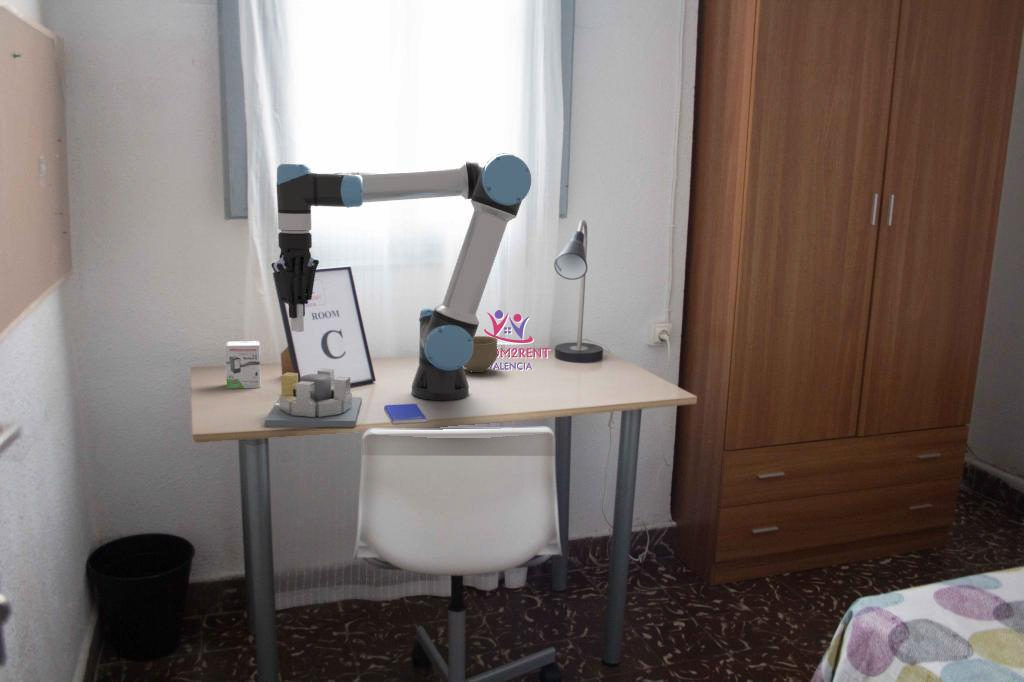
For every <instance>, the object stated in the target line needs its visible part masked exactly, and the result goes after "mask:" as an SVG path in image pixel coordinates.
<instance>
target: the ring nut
mask: <svg viewBox="0 0 1024 682" xmlns="http://www.w3.org/2000/svg"><path fill="white" fill-rule="evenodd" d="M317 374H324V375H329V376H331V399H328V400H320V401H314V382H307V381H301V380H300V381H299V373H298V372H287V371H286V372H285V373H283V374H282V375H281V393H280V394H279V398H280V409H281V410H283V411H284V412H286V413H287V414H292V415H296V416H308V417H316V416H318V417H322V416H329V415H335V414H341V413H344V412H345V411H347V410H348V409H349V408H350V407H352V397H353V393H352V392H351V377H349V376H337V377H336V378H335V368H323V367H322V368H320V369H317Z"/></svg>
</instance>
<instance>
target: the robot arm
mask: <svg viewBox="0 0 1024 682" xmlns="http://www.w3.org/2000/svg"><path fill="white" fill-rule="evenodd" d="M275 185H276V199H277V200H276V201H277V228H278V230H279V232H278V235H277V236H278V237H277V241H278V242H277V243H278V247H279V249H280V253H279V259H278V260H277V261H276V262H272V263H271V268H272V270H273V271H274V273H275V274H274V275H275V278H276V283H277V287H278V292H279V296H280V300H281V303H285V304H287V305H288V316H289V318H290V331H291V332H296V333H301V332H304V331H305V328H304V317H305V315H306V305H308V303H309V301H311V300H312V297H313V291H314V285H315V284H314V283H315V280H316V279H315V278H316V273H317V272H316V270H317V268H318V266H319V263H320V261H319V260H318V259H314V258H313V257H312V252H311V251H310V249H311V248H312V245H313V243H312V233H311V232H310V231H311V230H312V209H311V208H312V207H332V208H333V207H335V208H337V207H339V208H347V209H348V208H355V207H357V208H358V207H362V205H363V203H376V202H390V201H406V200H415V199H416V200H417V199H418V200H419V199H432V198H444V197H459V196H461V197H462V198H464V199H465V200H470V203H471V204H472V207H473V213H472V216H471V219H470V221H469V225H468V228H467V231H466V234H465V236H464V239H463V243H462V246H461V249H460V251H459V253H458V256H457V260H456V263H455V266H454V269H453V271H452V274H451V277H450V281H449V283H448V287H447V290H446V293H445V295H444V298H443V301H442V303H441V304H438V305H436V306H435V307H432V308H431V307H429V308H423V309H421V310H420V313H419V319H418V322H419V343H418V345H419V347H418V350H419V351H418V366H417V369H416V372H415V374H414V378H413V381H412V383H411V394H412V395H413V396H415V397H417V398H419V399H425V400H428V401H429V400H430V401H452V400H453V401H455V400H461V399H463V398H467V396H468V395H469V390H470V389H469V388H470V387H469V386H470V385H469V383H468V378H467V376H466V372H465V369H464V368H465V367H464V365H465V364H466V363H467V362H468V361H469V360H470V358H471V356H472V353H473V348H474V346H473V344H474V343H473V340H474V337H475V336H476V333H477V330H478V328H479V324H480V321H479V319H478V317H477V311H478V309H479V306H480V303H481V300H482V299H483V298H482V297H483V294H484V291H485V288H486V286H487V283H488V280H489V277H490V274H491V271H492V268H493V266H494V263H495V260H496V258H497V257H496V256H497V254H498V251H499V248H500V245H501V243H502V239H503V238H504V234H505V232H506V228H507V225H508V224H509V222H510V221H512V220H514V219H516V218H517V216H518V213H519V210H520V207H521V205H522V202H523V201H524V200H525V198H526V197H527V196H528V195H529V192H530V189H531V187H532V173H531V171H530V169H529V167H528V165H527V164H526V162H524V160H523V159H521V158H520V157H518V156H516V155H515V154H510V153H508V152H506V153H505V152H502V153H498V154H492V155H489V156H485V157H483V158H477V159H472V160H462V161H461V163H460V164H458V165H457V164H456V165H443V166H431V167H430V166H429V167H418V168H417V167H415V168H401V169H389V170H388V169H386V170H385V169H384V170H372V171H358V172H344V173H343V172H337V173H314V172H312V171H311V166H310V165H309V164H303V163H301V164H299V163H281V164H279V165H278V166H277V167H276V184H275Z"/></svg>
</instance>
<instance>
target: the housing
mask: <svg viewBox="0 0 1024 682" xmlns="http://www.w3.org/2000/svg"><path fill="white" fill-rule="evenodd" d="M300 381H307V382H314V401H320V400H328V399H331V376H329V375H324V374H318V373H310V374H305V375H302V376H301V377H300ZM362 399H363V398H362V397H361V396H352V407H350V408H349V409H348V410H347V411H345V412H344V413H341V414H335V415H329V416H322V417H318V416H316V417H308V416H296V415H292V414H287V413H286V412H284V411H283V410H281V409H280V397H279V398H278V399H277V401H276V403H275V404H274V405H273V406H272V408H271V411H270V412H269V413H268V414H267V417H266V418H265V424H264V425H265V427H269V428H270V427H275V428H276V427H277V428H279V427H280V428H281V427H289V428H290V427H292V428H293V427H296V428H298V427H299V428H302V427H303V428H306V427H307V428H355V427H356V426H357V422H358V419H359V414H360V409H361V406H362V403H363V401H362Z"/></svg>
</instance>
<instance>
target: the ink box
mask: <svg viewBox="0 0 1024 682" xmlns="http://www.w3.org/2000/svg"><path fill="white" fill-rule="evenodd" d="M225 351H226V352H225V359H226V360H225V364H226V366H225V367H226V389H228V390H229V389H255V388H257V389H260V388H261V342H260V341H259V340H239V341H238V340H237V341H236V340H233V341H227V342H226V343H225Z"/></svg>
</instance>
